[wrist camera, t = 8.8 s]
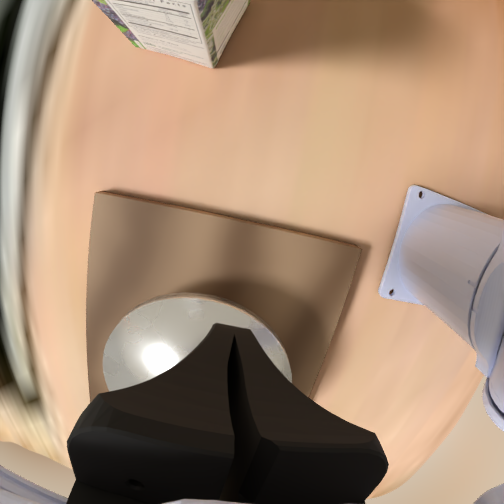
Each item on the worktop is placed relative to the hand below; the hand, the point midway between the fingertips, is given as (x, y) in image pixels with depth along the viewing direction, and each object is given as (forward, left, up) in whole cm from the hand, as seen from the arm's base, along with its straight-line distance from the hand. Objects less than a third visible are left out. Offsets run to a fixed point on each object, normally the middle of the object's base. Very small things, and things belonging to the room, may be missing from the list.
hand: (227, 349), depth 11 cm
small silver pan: (+2, +9, -9) cm, 13 cm away
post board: (+1, +7, -10) cm, 12 cm away
